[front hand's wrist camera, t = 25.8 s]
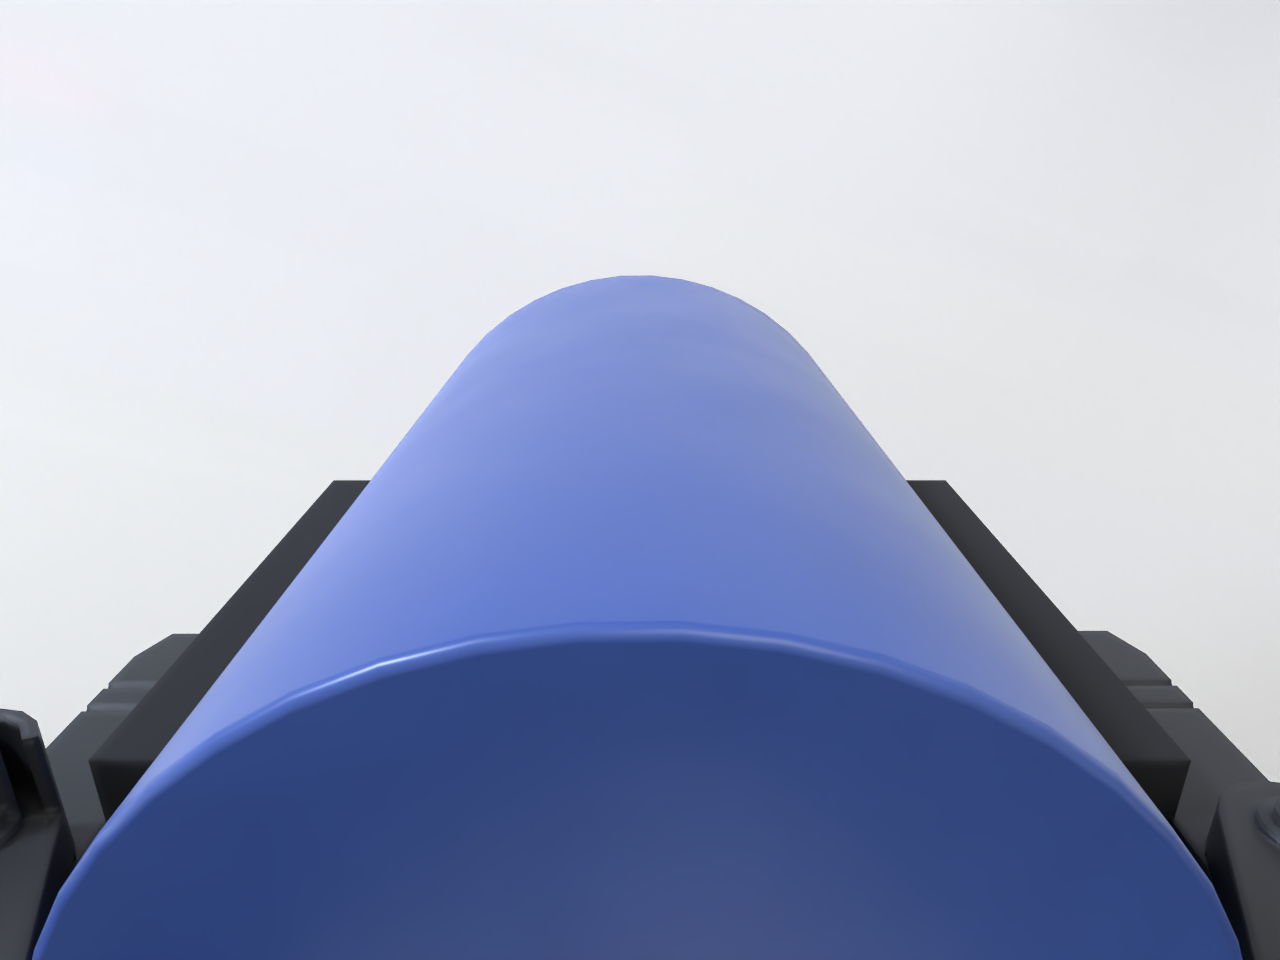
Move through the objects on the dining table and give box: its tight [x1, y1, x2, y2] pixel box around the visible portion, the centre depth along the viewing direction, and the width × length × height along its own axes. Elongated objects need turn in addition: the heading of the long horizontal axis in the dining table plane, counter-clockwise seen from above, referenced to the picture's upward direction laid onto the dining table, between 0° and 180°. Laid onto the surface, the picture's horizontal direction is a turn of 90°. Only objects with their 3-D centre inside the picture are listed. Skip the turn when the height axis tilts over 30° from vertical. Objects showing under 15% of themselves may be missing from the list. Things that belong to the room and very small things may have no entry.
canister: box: [32, 276, 1243, 960], centre depth 11 cm, size 8×8×12 cm
